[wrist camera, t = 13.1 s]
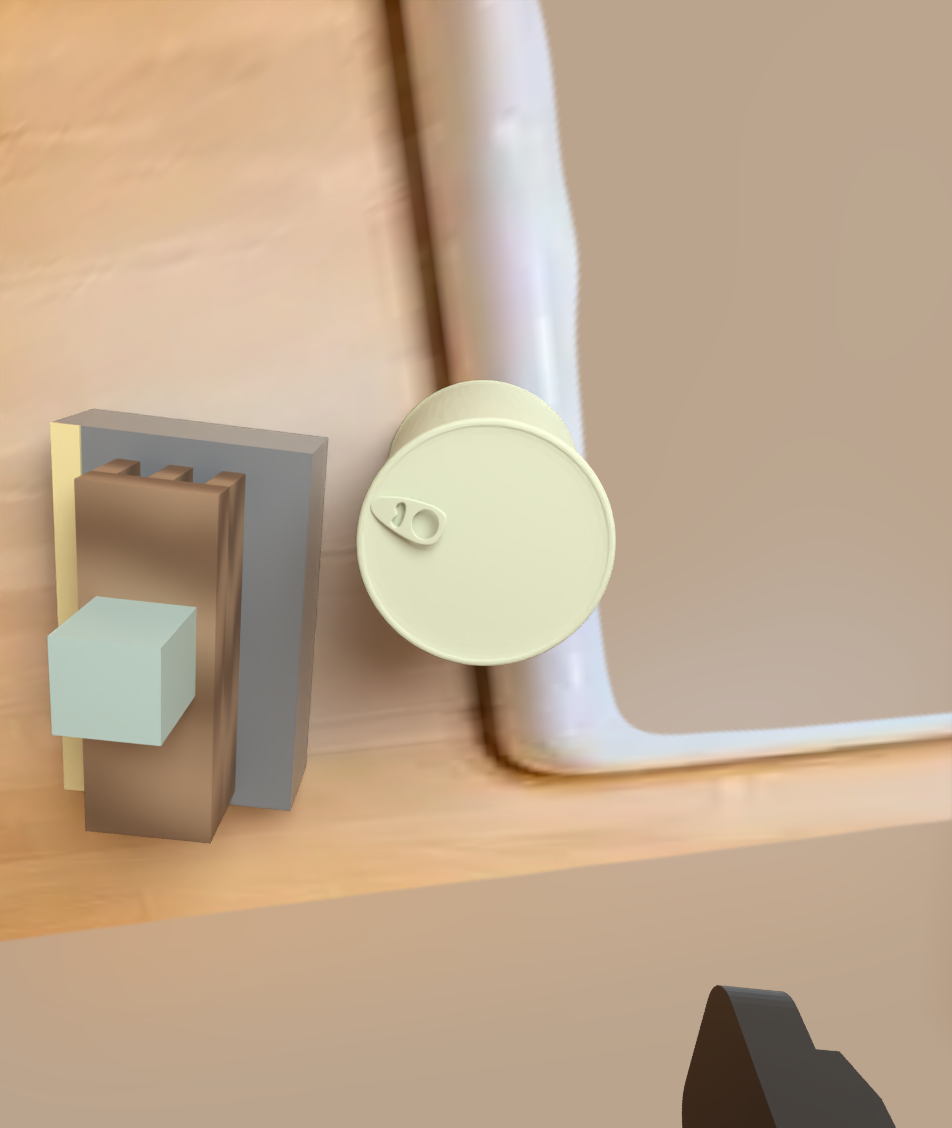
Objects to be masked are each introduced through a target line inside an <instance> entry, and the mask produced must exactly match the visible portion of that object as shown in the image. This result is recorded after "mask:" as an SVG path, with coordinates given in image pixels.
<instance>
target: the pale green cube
mask: <svg viewBox="0 0 952 1128" xmlns="http://www.w3.org/2000/svg"><path fill="white" fill-rule="evenodd" d="M196 611H197V607H190V606H181V605H171V604H162V603H153V602H144V601H135V600H126V599H117V598H108V597H99V596H96V597H95V598H93V599H92V600H91V601H90V602H88V603H87V604H86V605H85V606H83V607H82V608H81V609H80V610H79V611H77V612H76V613H75V614H74V615H72V616H71V617H70V618H69V619H68V620H66V621H65V622H64V623H63V624H61V625H60V626H59V627H58V628H57V629H55V630H54V631H53V632H52V633H50V634H49V635H48V636H47V640H48V662H49V683H50V704H51V725H52V735H58V736H67V737H77V738H87V739H96V740H106V741H116V742H125V743H135V744H145V745H154V746H161V745H162V744H163V742H164V741H165V739H166V738H167V737H168V735H169V734H170V732H171V731H172V729H173V728H174V726H175V725H176V723H177V722H178V720H179V719H180V718H181V716H182V715H183V713H184V712H185V710H186V709H187V707H188V706H189V704H190V703H191V701H192V700H193V699H194V697H195V680H196Z"/></svg>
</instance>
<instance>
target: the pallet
mask: <svg viewBox="0 0 952 1128" xmlns="http://www.w3.org/2000/svg"><path fill="white" fill-rule="evenodd" d="M245 483H246V474H245V473H237V472H228V471H222V472H220V473H219V474H217V475H216V476H215V477H213V478H212V479H211V480H209V481H208V482H206V483H205V484H201V483H193V467H186V466H177V465H168V466H167V467H165V468H163V469H161V470H160V471H158V472H156V473H155V474H153V475H151V476H149V477H141V472H140V461H135V460H126V459H118V458H117V459H115V460H112V461H110V462H108V463H106V464H104V465H102V466H100V467H98V468H96V469H94V470H92V471H89V472H87V473H85V474H83V475H81V476H79V477H77V478H75V479H74V493H75V523H76V554H77V585H78V611H79V610H80V609H81V608H82V607H83V606H85V605H86V604H87V603H88V602H90V601H91V600H92V599H93V598H95V597H96V596H99V597H108V598H117V599H126V600H135V601H144V602H153V603H162V604H171V605H181V606H190V607H197V611H196V680H195V697H194V699H193V700H192V701H191V703H190V704H189V706H188V707H187V709H186V710H185V712H184V713H183V715H182V716H181V718H180V719H179V720H178V722H177V723H176V725H175V726H174V728H173V729H172V731H171V732H170V734H169V735H168V737H167V738H166V739H165V741H164V742H163V744H162V745H161V746H154V745H145V744H135V743H125V742H116V741H106V740H96V739H87V738H83V769H84V800H85V830H86V831H93V832H103V833H113V834H123V835H133V836H143V837H153V838H163V839H173V840H183V841H193V842H203V843H211V841H212V839H213V837H214V835H215V833H216V830H217V828H218V826H219V824H220V822H221V820H222V818H223V816H224V814H225V811H226V809H227V807H228V805H229V803H230V801H231V799H232V797H233V795H234V793H235V777H236V747H237V718H238V689H239V659H240V630H241V601H242V571H243V542H244V512H245Z"/></svg>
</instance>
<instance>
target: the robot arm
mask: <svg viewBox="0 0 952 1128" xmlns="http://www.w3.org/2000/svg"><path fill="white" fill-rule="evenodd" d="M682 1128H896V1127H895V1125H894V1123H893V1121H892V1119H891V1117H890V1115H889V1113H888V1111H887V1109H886V1107H885V1105H884V1103H883V1101H882V1099H881V1098H880V1097H879V1096H878V1095H877V1093H876V1092H875V1091H874V1090H873V1089H872V1088H871V1087H870V1086H869V1084H868V1083H867V1082H866V1081H865V1080H864V1079H863V1078H862V1076H861V1075H860V1074H859V1073H858V1072H857V1071H856V1070H855V1069H854V1067H853V1066H852V1065H851V1064H850V1063H849V1062H848V1061H847V1060H846V1058H845V1057H844V1056H843V1055H842V1054H841V1053H840V1052H838V1051H827V1050H817V1049H815V1047H814V1044H813V1042H812V1040H811V1038H810V1035H809V1033H808V1031H807V1029H806V1026H805V1024H804V1022H803V1020H802V1018H801V1016H800V1013H799V1011H798V1009H797V1007H796V1005H795V1003H794V1001H793V1000H792V998H791V997H790V996H789V995H788V994H787V993H785V992H781V991H771V990H761V989H750V988H740V987H730V986H719V985H717V986H715V987H714V988H713V989H712V990H711V992H710V995H709V998H708V1001H707V1004H706V1008H705V1012H704V1015H703V1019H702V1023H701V1026H700V1030H699V1034H698V1038H697V1041H696V1045H695V1048H694V1052H693V1056H692V1060H691V1063H690V1067H689V1071H688V1075H687V1078H686V1082H685V1086H684V1092H683V1100H682Z"/></svg>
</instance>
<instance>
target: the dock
mask: <svg viewBox="0 0 952 1128" xmlns="http://www.w3.org/2000/svg"><path fill="white" fill-rule="evenodd" d="M50 431H51V458H52V484H53V510H54V536H55V563H56V589H57V615H58V627H59V626H60V625H61V624H63V623H64V622H65V621H66V620H68V619H69V618H70V617H71V616H72V615H74V614H75V613H76V612H77V611H78V585H77V554H76V523H75V493H74V479H75V478H77V477H79V476H81V475H83V474H85V473H87V472H89V471H92V470H94V469H96V468H98V467H100V466H102V465H104V464H106V463H108V462H110V461H112V460H115V459H117V458H118V459H126V460H135V461H140V472H141V477H149V476H151V475H153V474H155V473H156V472H158V471H160V470H161V469H163V468H165V467H167V466H168V465H177V466H186V467H193V483H201V484H205V483H206V482H208V481H209V480H211V479H212V478H213V477H215V476H216V475H217V474H219V473H220V472H222V471H228V472H237V473H245V474H246V483H245V512H244V542H243V571H242V601H241V630H240V659H239V689H238V718H237V747H236V777H235V793H234V795H233V797H232V799H231V801H230V803H229V805H238V806H248V807H257V808H267V809H276V810H286V811H290V810H291V808H292V805H293V802H294V799H295V796H296V793H297V791H298V788H299V785H300V782H301V779H302V776H303V774H304V771H305V768H306V758H307V743H308V728H309V714H310V699H311V684H312V670H313V655H314V640H315V626H316V611H317V596H318V581H319V567H320V552H321V537H322V523H323V508H324V493H325V478H326V464H327V449H328V438H327V437H318V436H310V435H302V434H294V433H286V432H278V431H269V430H261V429H253V428H245V427H237V426H229V425H220V424H212V423H204V422H196V421H188V420H180V419H171V418H163V417H155V416H147V415H139V414H131V413H123V412H114V411H106V410H98V409H91V410H88V411H85V412H82V413H79V414H76V415H73V416H69V417H66V418H63V419H60V420H57V421H54V422H51V423H50ZM62 746H63V772H64V789H66V790H76V791H84V769H83V738H77V737H67V736H62Z"/></svg>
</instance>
